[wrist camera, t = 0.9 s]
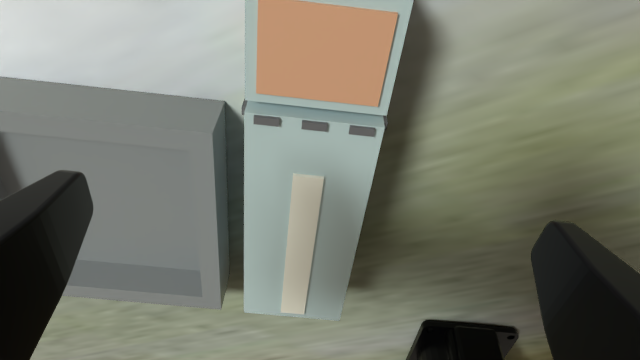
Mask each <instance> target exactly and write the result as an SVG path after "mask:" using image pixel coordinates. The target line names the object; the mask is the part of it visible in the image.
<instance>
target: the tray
mask: <svg viewBox="0 0 640 360" xmlns="http://www.w3.org/2000/svg"><path fill="white" fill-rule="evenodd" d="M58 170H71V171H79V172H82V173H83V174H84V175H85V177H86V180H87V183H88V187H89V190H90V194H91V198H92V201H93V215H92V218H91V221H90V224H89V226H88V229H87V232H86V235H85V237H84V240H83V243H82V246H81V248H80V251H79V254H78V257H77V259H76V262H75V265H74V268H73V270H72V273H71V276H70V278H69V281H68V283H67V286H66V288H65V290H64V292H63V294H62V296H73V297H85V298H96V299H107V300H119V301H130V302H141V303H153V304H164V305H176V306H187V307H198V308H210V309H221V308H222V304H223V300H224V296H225V291H226V287H227V283H228V278H229V274H230V268H229V233H228V198H227V163H226V128H225V101H218V100H209V99H199V98H190V97H181V96H172V95H163V94H153V93H144V92H135V91H126V90H117V89H108V88H98V87H89V86H80V85H71V84H62V83H52V82H43V81H34V80H25V79H16V78H7V77H0V200H2V199H4V198H6V197H8V196H10V195H11V194H13V193H15V192H17V191H19V190H21V189H23V188H25V187H27V186H29V185H30V184H32V183H34V182H36V181H38V180H40V179H42V178H44V177H46V176H48V175H50V174H51V173H53V172H55V171H58Z"/></svg>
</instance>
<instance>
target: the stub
mask: <svg viewBox="0 0 640 360" xmlns="http://www.w3.org/2000/svg"><path fill="white" fill-rule="evenodd" d="M413 1H414V0H245V100H247V101H256V102H265V103H275V104H284V105H293V106H302V107H311V108H320V109H329V110H338V111H347V112H357V113H366V114H375V115H384V116H387V112H388V108H389V104H390V99H391V95H392V91H393V86H394V82H395V78H396V74H397V69H398V65H399V61H400V57H401V52H402V48H403V44H404V39H405V35H406V31H407V27H408V22H409V18H410V14H411V10H412V5H413Z"/></svg>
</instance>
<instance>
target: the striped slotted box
mask: <svg viewBox="0 0 640 360" xmlns="http://www.w3.org/2000/svg"><path fill="white" fill-rule="evenodd" d="M242 115H244V312H245V313H257V314H268V315H279V316H291V317H302V318H314V319H325V320H336V321H340V317H341V312H342V308H343V304H344V300H345V295H346V291H347V287H348V283H349V278H350V274H351V270H352V266H353V261H354V257H355V253H356V248H357V244H358V240H359V236H360V231H361V227H362V223H363V219H364V214H365V210H366V206H367V202H368V197H369V193H370V189H371V185H372V180H373V176H374V172H375V168H376V163H377V159H378V155H379V150H380V146H381V142H382V138H383V133H384V130H386V129H387V124H388V121H387V116H384V115H375V114H366V113H357V112H347V111H338V110H329V109H320V108H311V107H302V106H293V105H284V104H275V103H265V102H256V101H247V100H245V99H244V102H243V105H242Z"/></svg>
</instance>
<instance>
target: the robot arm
mask: <svg viewBox="0 0 640 360" xmlns="http://www.w3.org/2000/svg"><path fill="white" fill-rule="evenodd" d="M92 215H93V201H92V198H91V194H90V190H89V187H88V183H87V180H86V177H85V175H84V174H83V173H82V172H79V171H71V170H58V171H55V172H53V173H51V174H50V175H48V176H46V177H44V178H42V179H40V180H38V181H36V182H34V183H32V184H30V185H29V186H27V187H25V188H23V189H21V190H19V191H17V192H15V193H13V194H11V195H10V196H8V197H6V198H4V199H2V200H0V360H30V358H31V356H32V354H33V352H34V350H35V348H36V346H37V344H38V342H39V340H40V338H41V336H42V334H43V332H44V330H45V328H46V326H47V324H48V322H49V320H50V318H51V316H52V314H53V312H54V310H55V308H56V306H57V304H58V302H59V300H60V298H61V296H62V294H63V292H64V290H65V288H66V286H67V283H68V281H69V278H70V276H71V273H72V270H73V268H74V265H75V262H76V259H77V257H78V254H79V251H80V248H81V246H82V243H83V240H84V237H85V235H86V232H87V229H88V226H89V224H90V221H91V218H92ZM531 262H532V267H533V272H534V278H535V283H536V288H537V294H538V299H539V304H540V310H541V315H542V320H543V325H544V329H545V333H546V336H547V340H548V343H549V347H550V350H551V353H552V356H553V360H640V274H639V273H638V272H636V271H635V270H634V269H633V268H631V267H630V266H629V265H627V264H626V263H625V262H623V261H622V260H621V259H620V258H618V257H617V256H616V255H614V254H613V253H612V252H610V251H609V250H608V249H607V248H605V247H604V246H603V245H601V244H600V243H599V242H598V241H596V240H595V239H594V238H592V237H591V236H590V235H588V234H587V233H586V232H585V231H583V230H582V229H581V228H579V227H578V226H577V225H575V224H574V223H571V222H564V221H551V222H549V223H548V224H547V225H546V227H545V228H544V230H543V232H542V233H541V235H540V237H539V238H538V240H537V242H536V243H535V245H534V247H533V249H532V253H531ZM518 337H519V336H518V333H517V330H516V329H514V328H507V327H496V326H484V325H473V324H462V323H450V322H439V321H425V322H423V323H422V324H421V327H420V329H419V331H418V334H417V336H416V338H415V340H414V343H413V345H412V347H411V350H410V352H409V354H408V356H407V359H406V360H504V358H505V356H506V355H507V353H508V352H509V350H510V349H511V348H512V346H513V345H514V343H515V342H516V340H517V339H518Z"/></svg>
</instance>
